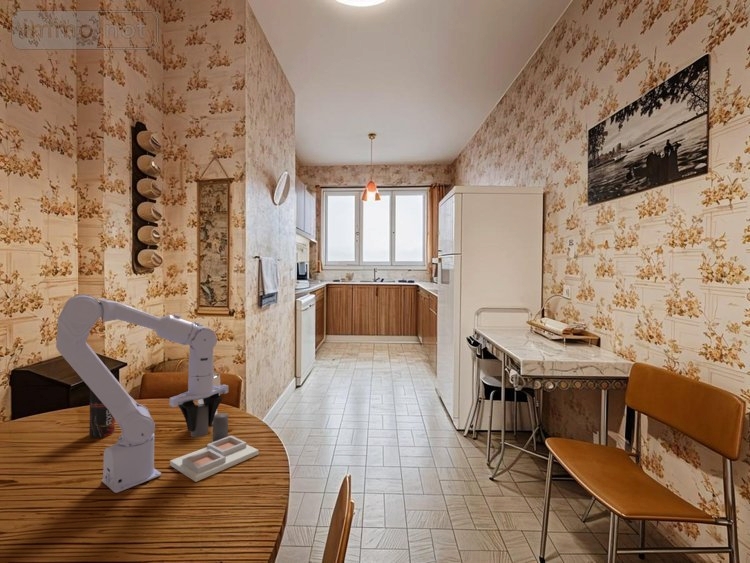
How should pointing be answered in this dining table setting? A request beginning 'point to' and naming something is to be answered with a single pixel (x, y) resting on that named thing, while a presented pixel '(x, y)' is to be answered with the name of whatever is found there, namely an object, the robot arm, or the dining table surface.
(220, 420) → the peg
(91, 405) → the deodorant
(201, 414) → the peg
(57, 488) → the dining table surface
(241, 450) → the board
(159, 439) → the dining table surface
